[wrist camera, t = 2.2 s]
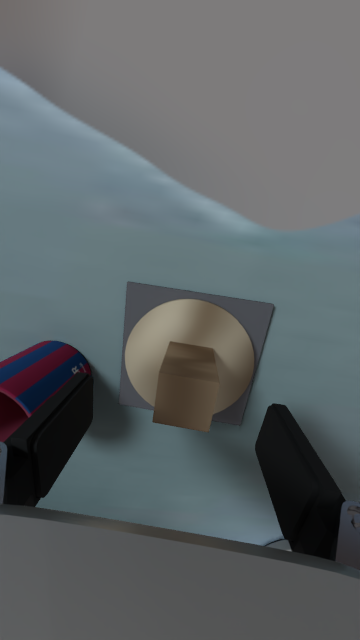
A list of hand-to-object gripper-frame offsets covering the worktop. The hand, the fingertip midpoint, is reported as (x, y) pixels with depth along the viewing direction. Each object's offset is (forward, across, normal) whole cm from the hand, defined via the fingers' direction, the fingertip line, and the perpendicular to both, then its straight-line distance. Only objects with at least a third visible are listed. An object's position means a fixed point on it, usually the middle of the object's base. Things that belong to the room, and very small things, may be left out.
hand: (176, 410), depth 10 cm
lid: (+7, -1, +1) cm, 7 cm away
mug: (+8, +13, +5) cm, 16 cm away
